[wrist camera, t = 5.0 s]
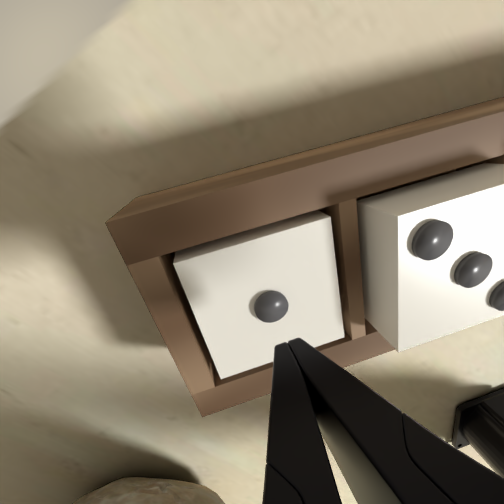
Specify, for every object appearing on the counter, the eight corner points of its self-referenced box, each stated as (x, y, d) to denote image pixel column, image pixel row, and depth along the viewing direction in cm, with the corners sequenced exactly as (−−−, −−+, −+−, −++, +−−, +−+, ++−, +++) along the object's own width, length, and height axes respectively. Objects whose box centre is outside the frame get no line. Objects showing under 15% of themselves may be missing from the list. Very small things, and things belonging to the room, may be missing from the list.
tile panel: (528, 242, 18) (623, 269, 14) (201, 349, 16) (202, 417, 12) (565, 79, 14) (712, 53, 10) (136, 197, 12) (104, 222, 8)
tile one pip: (321, 307, 14) (346, 340, 12) (217, 341, 14) (221, 382, 11) (305, 203, 12) (333, 218, 9) (178, 240, 11) (172, 266, 9)
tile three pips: (469, 280, 13) (529, 310, 11) (363, 316, 13) (401, 355, 10) (484, 162, 11) (566, 167, 9) (354, 201, 11) (402, 218, 8)
